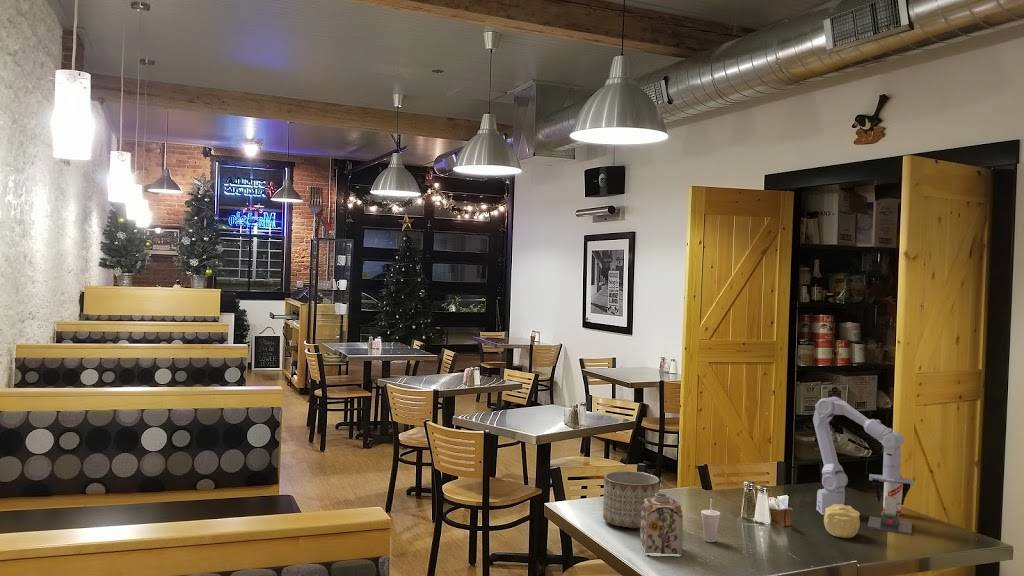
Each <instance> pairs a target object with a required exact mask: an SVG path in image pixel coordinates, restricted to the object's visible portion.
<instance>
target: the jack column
mask: <svg viewBox="0 0 1024 576" xmlns="http://www.w3.org/2000/svg"><path fill="white" fill-rule="evenodd" d="M884 515H889V516H895V517H896V497H892V496H885V511H884Z"/></svg>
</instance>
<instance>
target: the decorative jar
mask: <svg viewBox="0 0 1024 576" xmlns="http://www.w3.org/2000/svg"><path fill="white" fill-rule="evenodd" d="M683 515H684V514H683V509H682V506H681V503H680V501H679V500H677V499H674V498H671V497H670V495H669V494H667V493H664V492H659V493H656V494H655V497H649V498H646V499H644V500H643V502H642V504H641V526H640V528H639V535H640V536H639V542H640V541H641V543H642V546H643V548H644V550H645V553H661V554H679V555H683V518H684V516H683Z"/></svg>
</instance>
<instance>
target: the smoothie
mask: <svg viewBox="0 0 1024 576" xmlns="http://www.w3.org/2000/svg"><path fill="white" fill-rule="evenodd" d="M709 500H710V503H709V509H703V510H701V511H700V515H701V518H702V519H701V520H702V521H701V523H702V531H703V533H702V534H703V540H704V539H706V540H709V541H713V540H717V535H718V527H719V523H720V517H721V512H719V511H718V510H714V509H713V498H710V499H709Z"/></svg>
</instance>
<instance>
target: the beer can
mask: <svg viewBox="0 0 1024 576" xmlns="http://www.w3.org/2000/svg"><path fill="white" fill-rule="evenodd" d="M900 477H901V478H903V476H902V475H901V472H900ZM902 486H903V484H896V483H889V482H883V499H882V500H883V502H882V503H883V504H882V511H885V496H892V497H896V513H899V515H901V514H902V505H901V501H902Z"/></svg>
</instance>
